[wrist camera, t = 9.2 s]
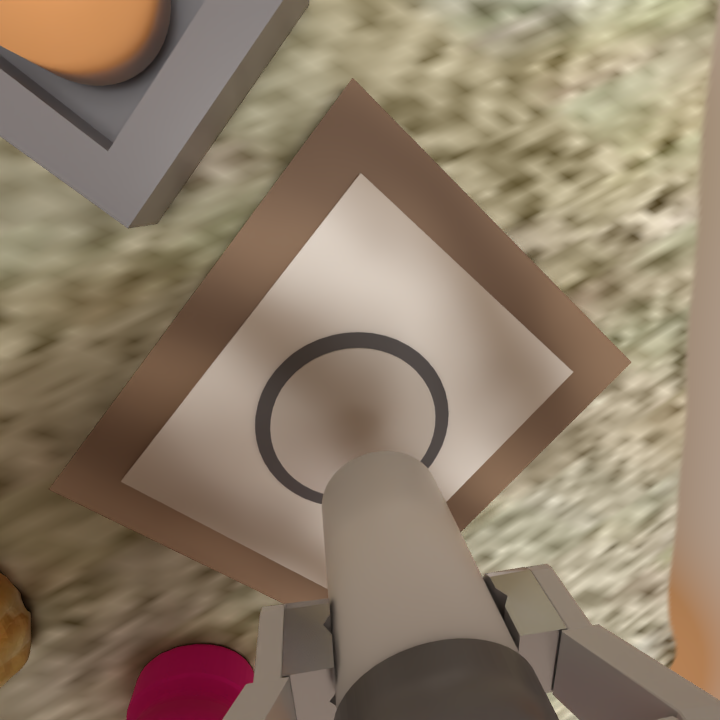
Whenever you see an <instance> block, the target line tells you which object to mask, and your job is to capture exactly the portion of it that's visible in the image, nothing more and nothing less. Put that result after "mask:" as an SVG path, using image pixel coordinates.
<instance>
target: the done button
mask: <svg viewBox="0 0 720 720" xmlns="http://www.w3.org/2000/svg"><path fill="white" fill-rule="evenodd" d="M170 14H171V0H0V46H2V47H4V48H6V49H8V50H9V51H11V52H13V53H15V54H17V55H19V56H21V57H23V58H25V59H27V60H28V61H30V62H32V63H34V64H36V65H38V66H40V67H42V68H44V69H46V70H47V71H49V72H51V73H53V74H55V75H57V76H59V77H62V78H64V79H66V80H69V81H72V82H76V83H79V84H85V85H92V86H105V85H113V84H117V83H121V82H124V81H126V80H129V79H131V78H133V77H135V76H136V75H138V74H139V73H140V72H142V71H143V70H144V69H145V68H146V67H147V66H149V65H150V64H151V62H152V61H153V60H154V58H155V57H156V56H157V55H158V53H159V51H160V49H161V47H162V45H163V43H164V40H165V38H166V35H167V32H168V27H169V23H170Z"/></svg>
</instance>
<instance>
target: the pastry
mask: <svg viewBox="0 0 720 720" xmlns="http://www.w3.org/2000/svg"><path fill="white" fill-rule="evenodd" d="M30 648H31V614H30V612H28V611H27V610H26V608H25V607H24V605H23V602H22V600H21V593H20V592H19V591H18V590H17V589H16V587H15V586H14V585H13V584H12V583H11V582H10V581H9V579H8V578H7V577H6V576H5V575H2V574H1V573H0V688H1V687H2V686H3V685H4V684H5V683H6V682H7V681H8V680H9V679H10V678H11V677H12V676H13V675H15V674H16V673H17V672H18V671H19V670H20V669H21V668H22V667H23V666H24V664H25V663H26V662H27V660H28V657H29V654H30Z"/></svg>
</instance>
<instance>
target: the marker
mask: <svg viewBox="0 0 720 720" xmlns="http://www.w3.org/2000/svg"><path fill="white" fill-rule="evenodd" d="M322 517H323V531H324V544H325V558H326V572H327V586H328V598H329V600H330V610H331V621H332V640H333V648H334V661H335V675H336V694H335V695H336V709H337V711H336V713H335V717H334V720H559V719H558V717H557V715H556V713H555V711H554V709H553V707H552V705H551V703H550V701H549V699H548V697H547V695H546V693H545V691H544V689H543V687H542V685H541V683H540V681H539V679H538V677H537V675H536V673H535V671H534V669H533V668H532V666H531V665H530V664H529V662H528V661H527V660H526V659H525V658H524V657H523V656H521V655H520V653H519V651H518V649H517V647H516V645H515V643H514V641H513V639H512V637H511V635H510V633H509V630H508V628H507V626H506V624H505V622H504V620H503V618H502V616H501V614H500V612H499V610H498V608H497V606H496V604H495V602H494V600H493V598H492V596H491V594H490V592H489V590H488V587H487V585H486V583H485V581H484V579H483V577H482V575H481V573H480V571H479V569H478V567H477V565H476V563H475V561H474V559H473V557H472V555H471V553H470V551H469V549H468V547H467V545H466V542H465V540H464V538H463V536H462V534H461V532H460V530H459V528H458V526H457V524H456V522H455V520H454V518H453V516H452V514H451V512H450V510H449V508H448V506H447V504H446V502H445V499H444V497H443V495H442V493H441V491H440V489H439V487H438V485H437V483H436V481H435V479H434V477H433V475H432V473H431V472H430V471H429V469H428V468H427V467H426V466H425V465H424V464H423V463H422V462H420V461H419V460H417V459H416V458H414V457H412V456H410V455H407V454H404V453H400V452H394V451H378V452H372V453H368V454H364V455H362V456H359V457H357V458H355V459H353V460H351V461H349V462H348V463H346V464H345V465H343V466H342V467H341V468H340V469H339V470H338V471H337V472H336V473H335V474H334V475H333V476H332V478H331V479H330V481H329V482H328V484H327V486H326V488H325V491H324V494H323V499H322Z"/></svg>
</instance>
